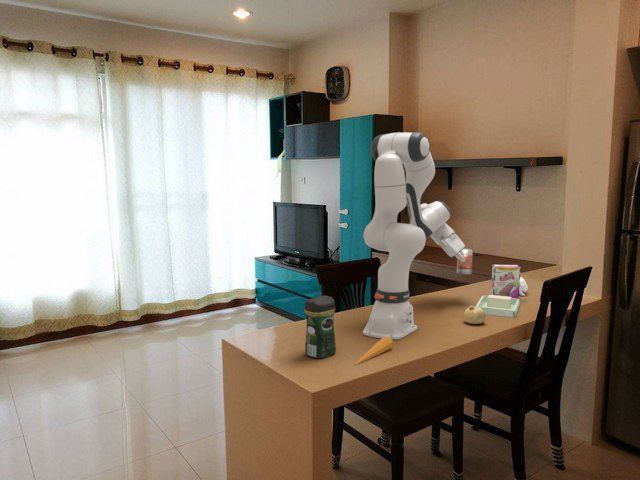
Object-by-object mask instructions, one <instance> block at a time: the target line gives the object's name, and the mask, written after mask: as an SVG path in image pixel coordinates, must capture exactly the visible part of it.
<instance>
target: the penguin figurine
mask: <svg viewBox="0 0 640 480" xmlns="http://www.w3.org/2000/svg"><path fill="white" fill-rule="evenodd" d="M528 287H529V286H528V284H527V282H526V280H525V279H524V278H523V277H522V276H520V286H519V296H522V297H525V296H526V293H527V292H528Z"/></svg>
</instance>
